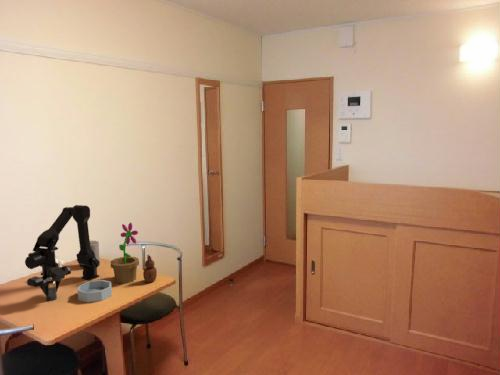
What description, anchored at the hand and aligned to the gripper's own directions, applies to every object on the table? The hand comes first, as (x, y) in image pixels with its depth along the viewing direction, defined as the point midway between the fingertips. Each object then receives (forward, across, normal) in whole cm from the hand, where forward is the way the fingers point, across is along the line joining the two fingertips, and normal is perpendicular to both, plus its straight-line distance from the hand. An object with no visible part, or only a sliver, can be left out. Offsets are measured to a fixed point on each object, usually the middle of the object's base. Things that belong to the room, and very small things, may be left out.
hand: (51, 293), depth 183 cm
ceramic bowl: (+2, +12, -15) cm, 19 cm away
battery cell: (+2, 0, 0) cm, 2 cm away
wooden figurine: (+3, +37, -27) cm, 46 cm away
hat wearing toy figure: (+3, +18, +21) cm, 28 cm away
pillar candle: (+3, +40, +19) cm, 44 cm away
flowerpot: (+3, +33, -14) cm, 36 cm away
